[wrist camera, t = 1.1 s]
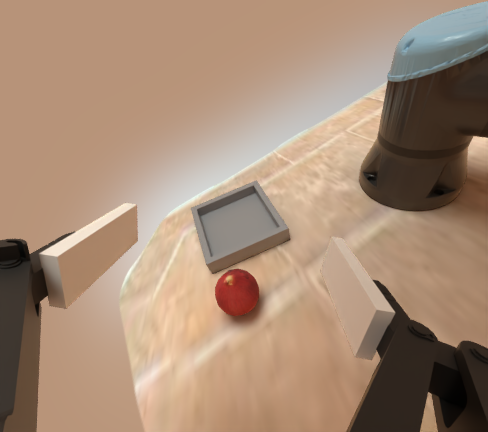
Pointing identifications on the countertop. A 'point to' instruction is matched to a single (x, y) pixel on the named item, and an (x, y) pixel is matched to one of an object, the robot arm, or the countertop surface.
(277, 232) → the bin
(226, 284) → the onion
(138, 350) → the countertop surface
